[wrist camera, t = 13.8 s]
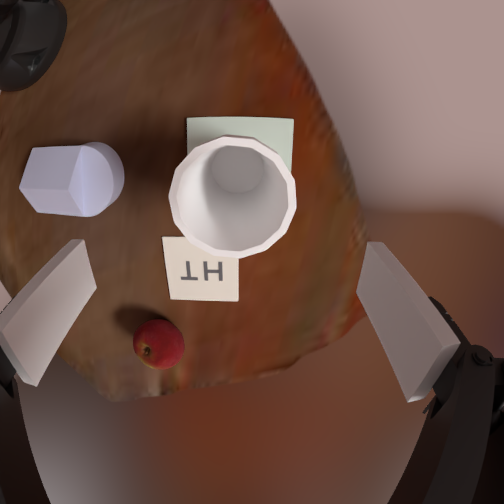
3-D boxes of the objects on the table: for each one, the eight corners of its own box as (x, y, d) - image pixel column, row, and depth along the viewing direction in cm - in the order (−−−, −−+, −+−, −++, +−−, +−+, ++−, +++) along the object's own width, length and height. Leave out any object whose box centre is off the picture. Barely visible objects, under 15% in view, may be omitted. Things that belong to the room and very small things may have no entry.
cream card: (162, 236, 36) (161, 237, 36) (238, 237, 37) (238, 238, 36) (170, 298, 41) (170, 299, 41) (238, 300, 41) (238, 301, 41)
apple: (182, 308, 42) (172, 345, 35) (190, 345, 46) (183, 382, 39) (136, 306, 42) (120, 342, 35) (148, 343, 46) (137, 378, 39)
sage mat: (187, 117, 30) (186, 117, 29) (293, 119, 30) (293, 119, 30) (190, 214, 35) (190, 215, 35) (287, 216, 35) (287, 217, 35)
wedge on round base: (49, 204, 34) (124, 210, 35) (23, 221, 28) (102, 230, 29) (47, 143, 30) (125, 141, 31) (16, 153, 24) (100, 150, 25)
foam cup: (192, 133, 30) (159, 147, 19) (273, 123, 30) (290, 129, 18) (204, 210, 35) (184, 264, 23) (281, 202, 34) (298, 252, 23)
